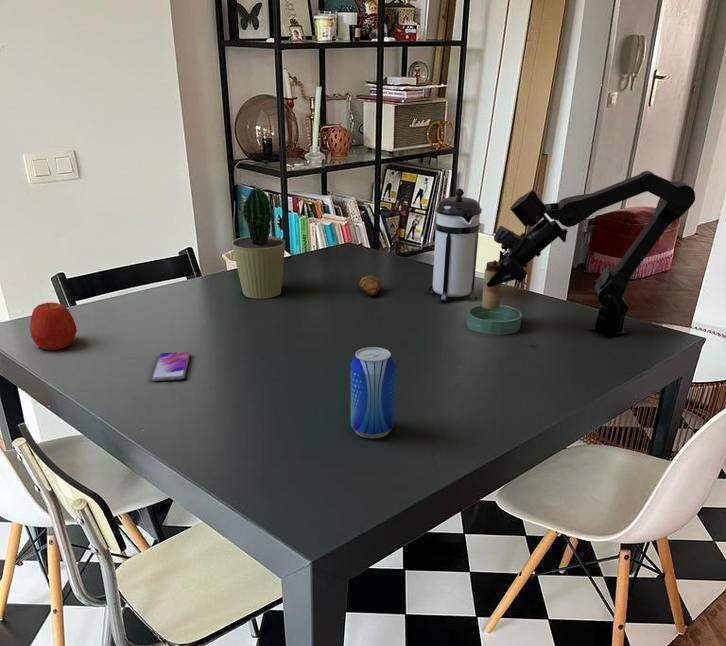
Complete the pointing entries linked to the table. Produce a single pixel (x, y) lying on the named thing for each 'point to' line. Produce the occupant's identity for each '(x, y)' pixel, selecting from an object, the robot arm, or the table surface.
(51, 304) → the apple
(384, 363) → the beer can
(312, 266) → the table surface
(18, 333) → the table surface
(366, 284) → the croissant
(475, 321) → the bowl
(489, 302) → the pepper mill
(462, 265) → the coffee press
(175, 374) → the smartphone
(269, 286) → the potted cactus
